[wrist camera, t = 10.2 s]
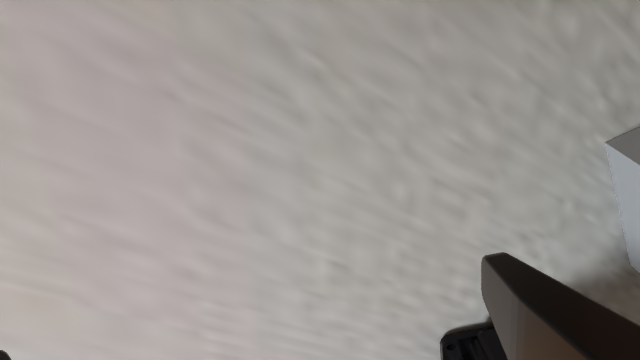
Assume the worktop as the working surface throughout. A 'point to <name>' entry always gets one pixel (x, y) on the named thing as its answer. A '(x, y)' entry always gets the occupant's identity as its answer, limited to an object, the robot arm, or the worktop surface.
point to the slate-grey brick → (627, 188)
